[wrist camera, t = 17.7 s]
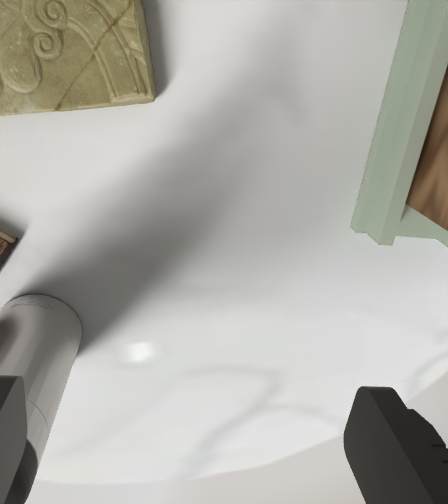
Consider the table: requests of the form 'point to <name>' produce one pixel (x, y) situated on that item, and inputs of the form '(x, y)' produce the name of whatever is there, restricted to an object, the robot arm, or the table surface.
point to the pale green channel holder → (404, 128)
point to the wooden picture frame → (433, 166)
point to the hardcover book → (6, 246)
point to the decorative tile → (73, 55)
